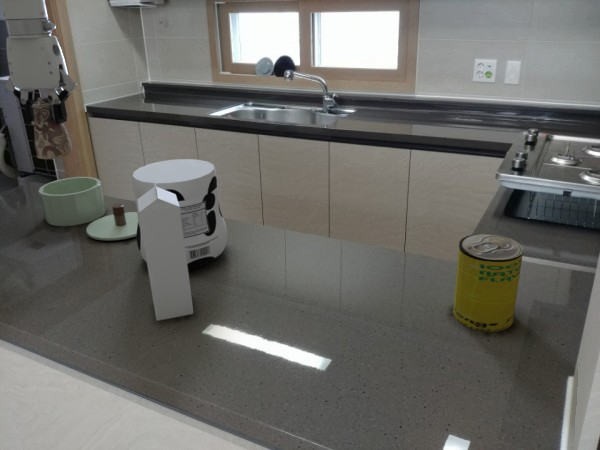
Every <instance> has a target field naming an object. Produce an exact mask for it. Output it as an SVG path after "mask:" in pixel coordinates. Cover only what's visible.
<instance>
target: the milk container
mask: <svg viewBox="0 0 600 450" xmlns="http://www.w3.org/2000/svg"><path fill="white" fill-rule="evenodd" d="M217 176H218V175H217V172H216V167H215V164H213V163H211V162H210V161H206V160H203V159H193V158H176V159H168V160H161V161H157V162H152V163H148V164H146V165H143V166H140V167H139V168H137V169H135V170H134V171H133V174H132V178H131V179H132V180H131V181H132V191H133V194H134V197H133V198H134V203H135V208H136V212H137V214H138V226H137V235H136V236H135V238H136V245H137V248H138V251H139V254H140V256H141V258H142V259H143V260H144V262H146V263H147V260H146V254H145V248H144V242H143V236H142V230H141V224H140V218H139V211H138V201H137V199H138V198H140V197H141V196H143V195H144V194H145V193H147V192H148V191H149V190H151V189H152V188H154V187H155V184H154V178H155V183H156V187H158V188H161V189H163V190H166V191H169V192H171V193H174V194H176V197H177V200H178V203H179V206H180V213H181V221H182V228H183V236H184V244H185V251H186V259H187V267H188V269H194V268H195V269H196V268H198V267H202V266H204V265H207V264H209V263H211V262H212V261H214V260H216V259H217V258H219V257H220V256H221V255H222V254H223V253H224V251H225V249H226V246H227V242H228V241H227V240H228V228H227V224H226V221H225V219H224V216H223V213H222V210H221V205H220V196H219V195H220V193H219V187H218V186H219V185H218V177H217Z"/></svg>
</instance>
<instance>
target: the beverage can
mask: <svg viewBox="0 0 600 450" xmlns="http://www.w3.org/2000/svg"><path fill="white" fill-rule="evenodd" d="M457 253H458V254H457V263H456V265H457V266H456V275H455V285H454V298H453V307H452V308H453V309H452V315H453V317H454V318H455V320H456V321H457V322H459V324H461V325H463V326H465V327H467V328H469V329H472V330H476V331H480V332H493V333H495V332H499V331H503V330H506V329H508V328H509V327H511V326H512V324H513V322H514V317H515V311H516V303H517V297H518V289H519V281H520V275H521V268H522V262H523V261H522V260H523V256H524V255H523V254H524V247H523V246H522V244H520V243H519V242H517V240H514V239H512V238H510V237H506V236H503V235H498V234H491V233H475V234H471V235H466V236H465V237H463V238H461V239H460V241H459V243H458V252H457Z"/></svg>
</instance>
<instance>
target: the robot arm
mask: <svg viewBox="0 0 600 450" xmlns="http://www.w3.org/2000/svg"><path fill="white" fill-rule="evenodd" d="M0 3H1V8H2V12H3V17H4V21H5V25H6V30H7V34H8V37H6V43H5V44H6V57H7V65H8V72H9V77H8V78H7V81H6V82H5V85H4V87H5V89H7V90H8V91H9V92H10V93H12V94H13V95H14V96H15V97H16V98H17V99H18V100H20V103H21V104H22V105H24V109H25V113H26V117H27V120H28V124H30V125H32V121H34V111H33V108H32V105H33V104H34V102H35V90H36V91H37V90H39V91H40V90H42V91H43V90H44V91H45V90H47V91H48V92H49V95H51V96H52V98H53V102H54V103H52V104H53V111H54V116H55V121H56V123H57V124H61V123H63V124H64V123H66V122H67V121H68V113H67V108H66V102H67V101H68V99H69V97H70V96H71V94H72V93H73V92H74V90H76V89H77V87H78V85H77V83H76V82H75V81H74V80H73V79H72V78H71V76H70V75H69V72H68V68H67V64H66V60H65V56H64V53H63V50H62V47H61V45H60V42H59V40H58V38H57V36H56V35H52V31H54V30H56V24H55V22H51V21H50V19H49V16H48V10H47V5H46V0H0ZM63 87H64V88H63Z"/></svg>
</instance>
